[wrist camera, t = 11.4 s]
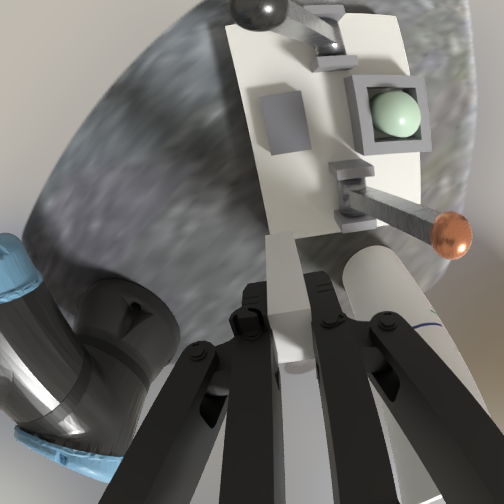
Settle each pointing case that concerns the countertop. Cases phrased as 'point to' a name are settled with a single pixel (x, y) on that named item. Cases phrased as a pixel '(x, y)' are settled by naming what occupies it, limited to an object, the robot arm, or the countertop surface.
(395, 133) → the button
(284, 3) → the lever
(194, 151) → the countertop surface
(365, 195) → the lever
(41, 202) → the countertop surface
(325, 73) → the panel
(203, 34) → the countertop surface
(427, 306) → the cylindrical container
